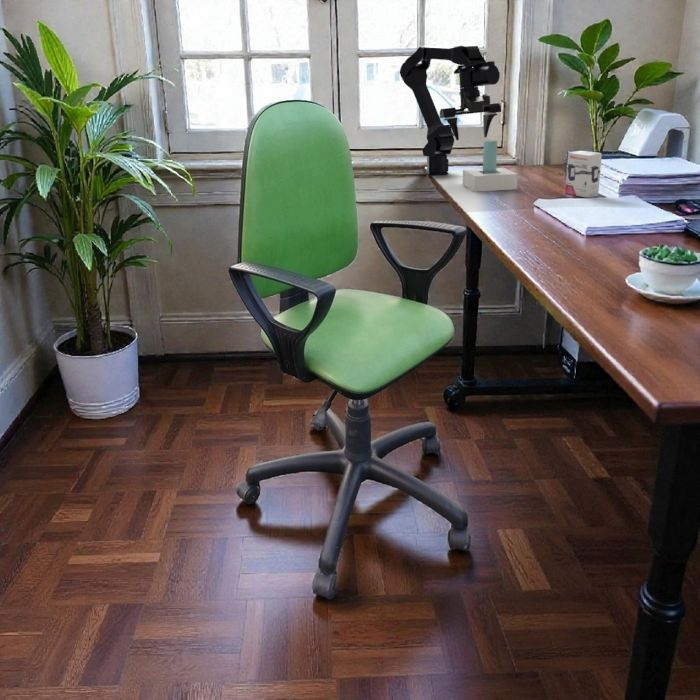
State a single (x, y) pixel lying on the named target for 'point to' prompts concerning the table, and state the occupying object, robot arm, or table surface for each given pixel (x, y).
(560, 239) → the table surface
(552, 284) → the table surface
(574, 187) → the ink box
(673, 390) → the table surface
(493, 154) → the pin
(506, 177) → the socket block
